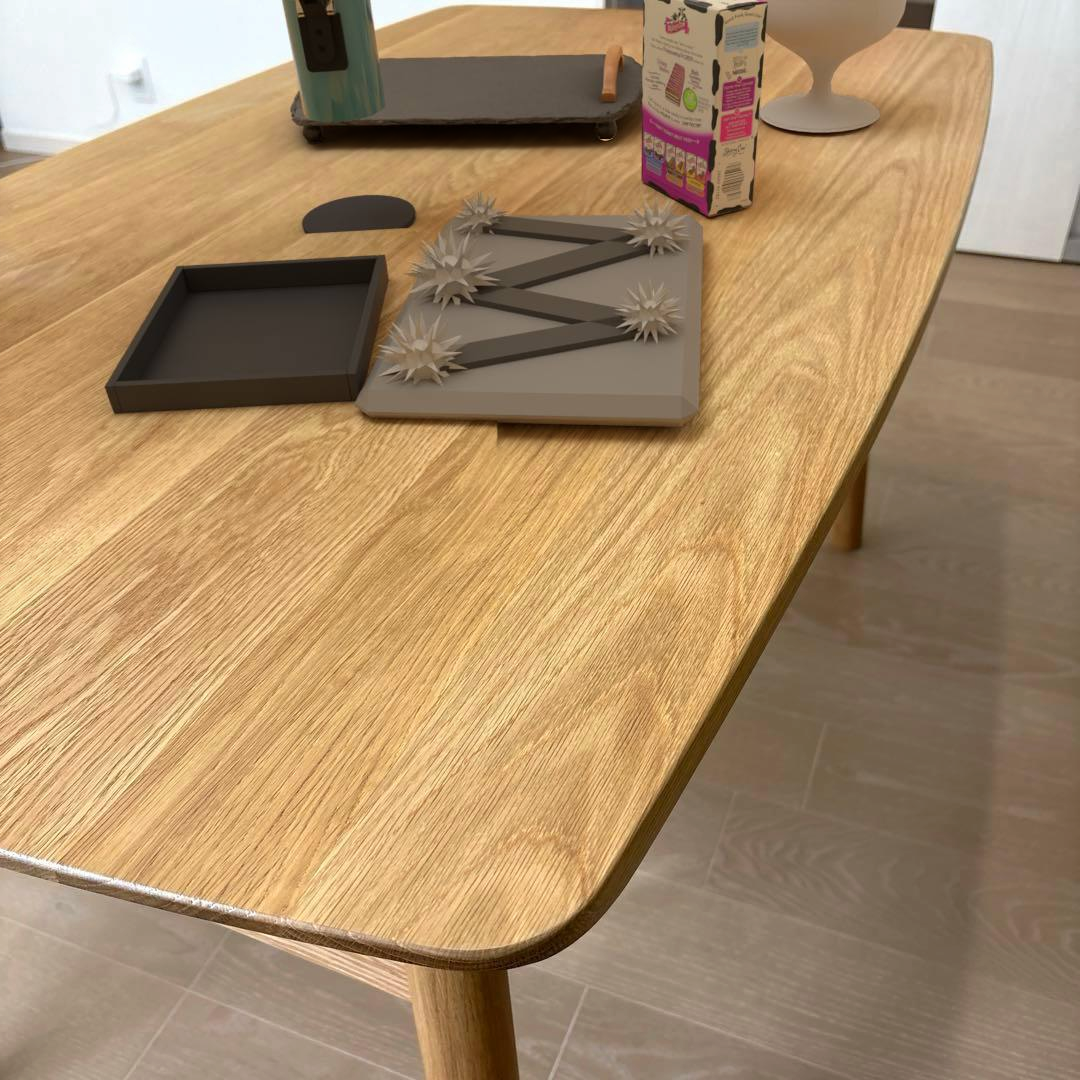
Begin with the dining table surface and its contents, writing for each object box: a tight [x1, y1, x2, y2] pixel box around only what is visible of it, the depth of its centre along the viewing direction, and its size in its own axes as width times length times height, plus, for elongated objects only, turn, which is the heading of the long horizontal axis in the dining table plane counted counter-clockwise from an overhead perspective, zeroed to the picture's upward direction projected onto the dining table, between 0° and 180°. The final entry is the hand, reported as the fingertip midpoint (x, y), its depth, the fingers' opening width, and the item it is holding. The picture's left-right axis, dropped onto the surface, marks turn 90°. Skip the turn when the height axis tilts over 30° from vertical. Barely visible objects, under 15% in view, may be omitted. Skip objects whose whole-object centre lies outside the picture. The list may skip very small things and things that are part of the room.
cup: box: [281, 0, 386, 122], centre depth 86 cm, size 7×7×9 cm
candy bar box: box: [640, 0, 768, 218], centre depth 90 cm, size 11×5×16 cm, turn 28°
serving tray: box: [290, 44, 643, 145], centre depth 115 cm, size 39×23×6 cm, turn 82°
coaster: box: [301, 194, 417, 235], centre depth 95 cm, size 10×10×1 cm
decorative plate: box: [354, 189, 704, 428], centre depth 75 cm, size 30×22×7 cm
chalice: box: [759, 0, 907, 133], centre depth 105 cm, size 14×14×15 cm
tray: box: [104, 254, 389, 415], centre depth 76 cm, size 16×18×3 cm
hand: (335, 55), depth 86 cm, fingers closed on cup, 6 cm apart
